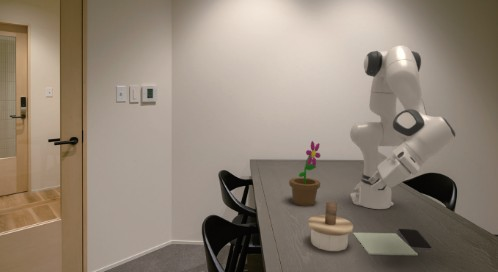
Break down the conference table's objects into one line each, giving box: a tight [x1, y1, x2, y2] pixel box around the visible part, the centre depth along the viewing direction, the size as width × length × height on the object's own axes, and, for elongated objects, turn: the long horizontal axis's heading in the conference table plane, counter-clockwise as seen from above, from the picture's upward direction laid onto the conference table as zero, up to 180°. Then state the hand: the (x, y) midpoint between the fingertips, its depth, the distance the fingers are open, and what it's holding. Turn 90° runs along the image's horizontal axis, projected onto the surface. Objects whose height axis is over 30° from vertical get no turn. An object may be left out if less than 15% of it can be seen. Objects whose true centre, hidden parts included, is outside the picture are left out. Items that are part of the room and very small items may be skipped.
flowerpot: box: [288, 140, 321, 207], centre depth 157 cm, size 14×14×30 cm
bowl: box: [310, 228, 349, 252], centre depth 116 cm, size 12×12×6 cm
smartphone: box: [397, 228, 433, 250], centre depth 121 cm, size 7×1×15 cm
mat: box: [352, 232, 419, 257], centre depth 117 cm, size 16×16×1 cm
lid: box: [307, 201, 354, 236], centre depth 115 cm, size 15×15×8 cm
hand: (371, 185), depth 110 cm, fingers open, 8 cm apart
